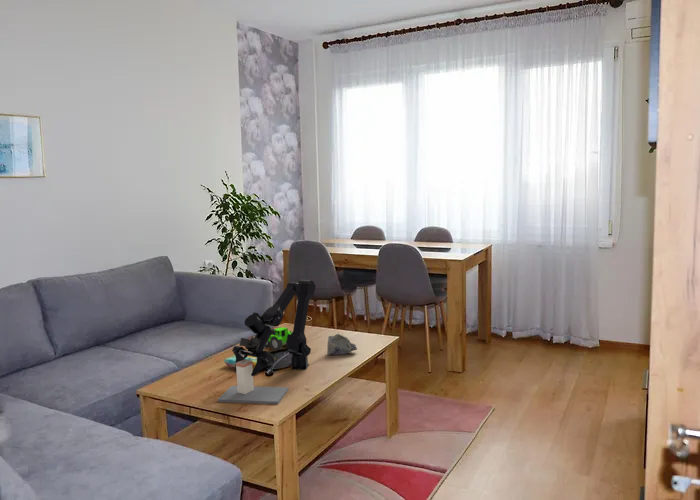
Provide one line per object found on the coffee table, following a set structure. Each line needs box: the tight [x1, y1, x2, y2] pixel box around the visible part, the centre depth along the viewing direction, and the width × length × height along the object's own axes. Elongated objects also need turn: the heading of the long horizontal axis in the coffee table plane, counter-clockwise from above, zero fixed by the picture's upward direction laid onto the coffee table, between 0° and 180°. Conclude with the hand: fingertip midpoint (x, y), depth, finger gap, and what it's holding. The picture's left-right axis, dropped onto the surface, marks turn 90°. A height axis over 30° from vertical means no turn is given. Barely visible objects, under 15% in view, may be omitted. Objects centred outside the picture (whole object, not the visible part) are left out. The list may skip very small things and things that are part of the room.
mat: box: [217, 385, 289, 405], centre depth 217 cm, size 24×14×1 cm, turn 80°
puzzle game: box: [223, 354, 276, 369], centre depth 251 cm, size 12×5×20 cm
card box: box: [235, 359, 255, 394], centre depth 218 cm, size 5×4×12 cm
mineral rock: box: [326, 333, 358, 356], centre depth 262 cm, size 13×11×10 cm
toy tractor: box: [267, 326, 293, 352], centre depth 278 cm, size 11×16×10 cm
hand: (243, 373), depth 218 cm, fingers open, 9 cm apart
